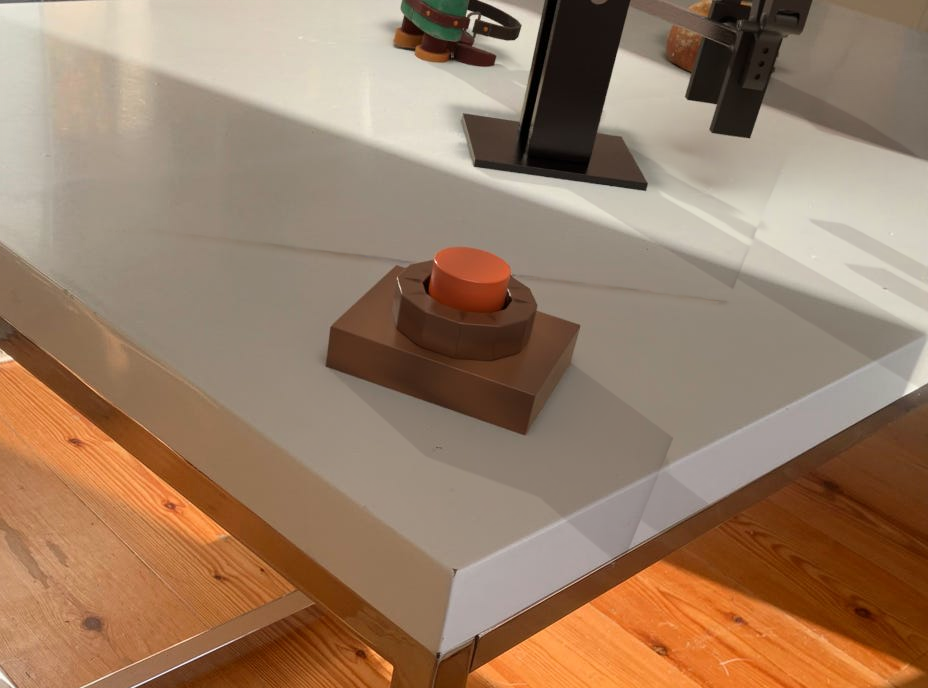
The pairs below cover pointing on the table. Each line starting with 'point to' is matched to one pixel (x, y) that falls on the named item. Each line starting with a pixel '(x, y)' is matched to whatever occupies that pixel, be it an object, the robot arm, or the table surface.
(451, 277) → the button
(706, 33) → the lever
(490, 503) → the table surface
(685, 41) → the bread roll
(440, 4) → the binoculars
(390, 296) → the button block
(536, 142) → the bracket
